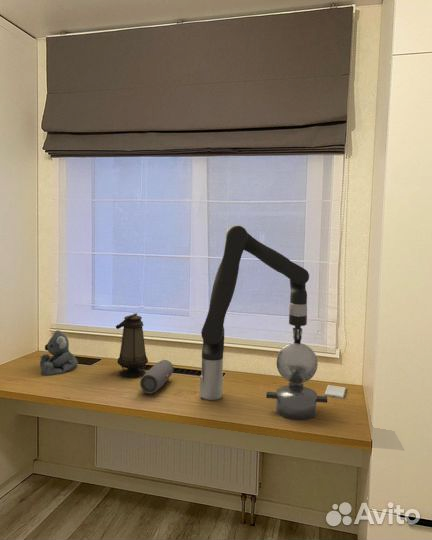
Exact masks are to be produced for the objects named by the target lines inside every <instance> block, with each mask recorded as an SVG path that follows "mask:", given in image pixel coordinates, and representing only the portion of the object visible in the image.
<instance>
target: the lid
mask: <svg viewBox="0 0 432 540" xmlns="http://www.w3.org/2000/svg"><path fill="white" fill-rule="evenodd" d="M318 363H319V362H318V358H317V355H316V353H315V351H314V350H313V349H312V348H311V347H310V346H309V345H307V344H304V343H294V342H292V343H288V344H286V345H284V346H283V347H282V348H281V349H280V350H279V352H278V354H277V357H276V369H277V371H278V373H279V375H280V376H281V377H282V378H283V379H284V380H285V381H288V385H296V386H303V387H304V383H307V382H308V381H309V380H311V379H312V378H313V377H314V376H315V374H316V373H317V370H318V365H319V364H318Z"/></svg>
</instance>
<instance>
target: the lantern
mask: <svg viewBox="0 0 432 540" xmlns="http://www.w3.org/2000/svg"><path fill="white" fill-rule="evenodd" d="M143 327H144V322H143V321H142V316H141V315H138V313H133V314H130V315H127V316H124V318H123V321H121V322H120V323H118V324H117V325H115V328H116V329H117V330H119V329H121V328H122V336H121V343H120V344H121V345H120V352H119V357H118V358H117V361H116V362H117V364H118V365H120V367H121V369H122V370H121V371H120V372H119V376H120V377H122V378H125V379H135V378H142V377H143V376H144V375H145V374H146V372H147V371H145V370H144V369H142V367H144V366H145V365H146V364H148V362H149V358H148V357H147V354H146V348H145V347H146V345H145V336H144V330H143V329H144V328H143Z"/></svg>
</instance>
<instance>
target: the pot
mask: <svg viewBox="0 0 432 540" xmlns="http://www.w3.org/2000/svg"><path fill="white" fill-rule="evenodd" d="M265 395H266V397H265V398H266V399H273V400H275V401H276V402H275V412H276V414H278V415H279V416H280V417H283V418H285V419H289V420H293V421H294V420H295V421H307V420H311V419H314V418H315V417H316V416H317V403H325V404H327V403H328V396H324V395H318V393H317V391H315V390H314V389H312V388H310V387H307V386H304V385H303V386H296V385H289V384H288V385H283V386H279V387H278V388H277V389H276V392H273V391H266V394H265Z"/></svg>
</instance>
